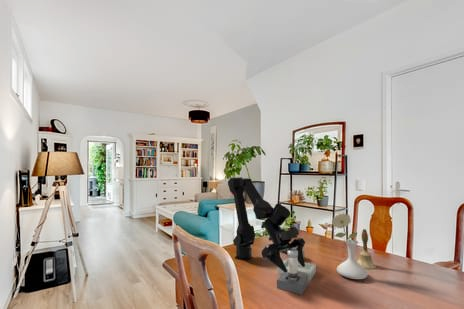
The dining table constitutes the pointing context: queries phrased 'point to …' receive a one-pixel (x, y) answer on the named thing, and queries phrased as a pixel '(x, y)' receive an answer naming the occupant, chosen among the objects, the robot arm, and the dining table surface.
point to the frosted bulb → (292, 264)
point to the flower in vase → (350, 265)
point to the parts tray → (301, 269)
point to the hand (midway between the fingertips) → (295, 269)
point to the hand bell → (365, 254)
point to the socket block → (292, 283)
